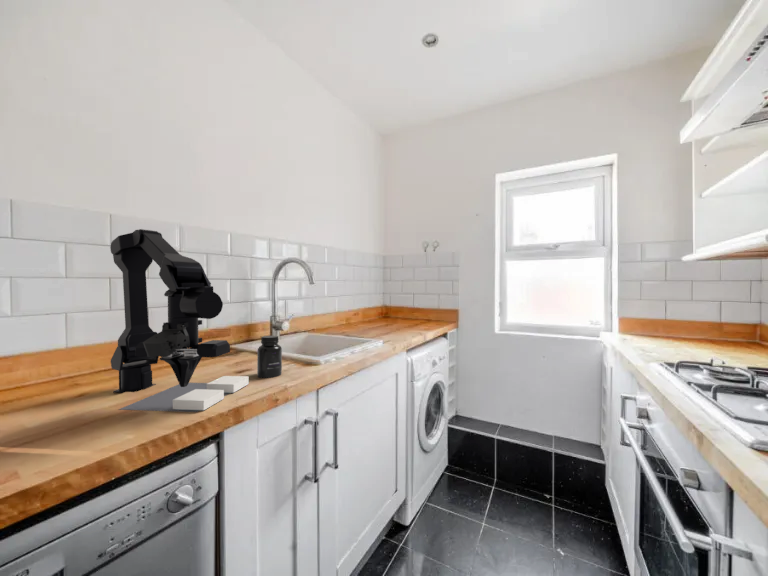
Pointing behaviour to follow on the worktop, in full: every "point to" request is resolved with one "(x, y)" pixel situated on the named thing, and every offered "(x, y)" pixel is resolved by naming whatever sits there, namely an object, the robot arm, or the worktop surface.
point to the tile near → (198, 399)
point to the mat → (166, 399)
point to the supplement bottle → (269, 358)
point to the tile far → (229, 383)
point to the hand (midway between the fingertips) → (184, 386)
